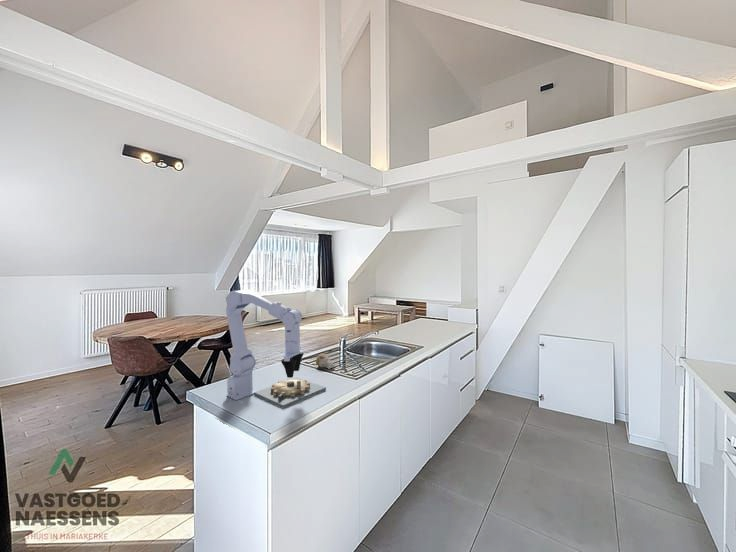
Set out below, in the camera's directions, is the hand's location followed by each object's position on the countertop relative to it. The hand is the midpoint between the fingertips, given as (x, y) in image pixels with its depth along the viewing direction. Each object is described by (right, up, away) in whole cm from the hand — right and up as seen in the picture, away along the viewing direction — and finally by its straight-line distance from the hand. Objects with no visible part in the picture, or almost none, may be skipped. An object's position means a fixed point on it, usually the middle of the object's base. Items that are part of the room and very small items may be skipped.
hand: (293, 373), depth 124 cm
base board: (-3, -10, +7) cm, 13 cm away
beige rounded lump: (+8, -10, +40) cm, 42 cm away
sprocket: (-3, -9, +7) cm, 12 cm away
